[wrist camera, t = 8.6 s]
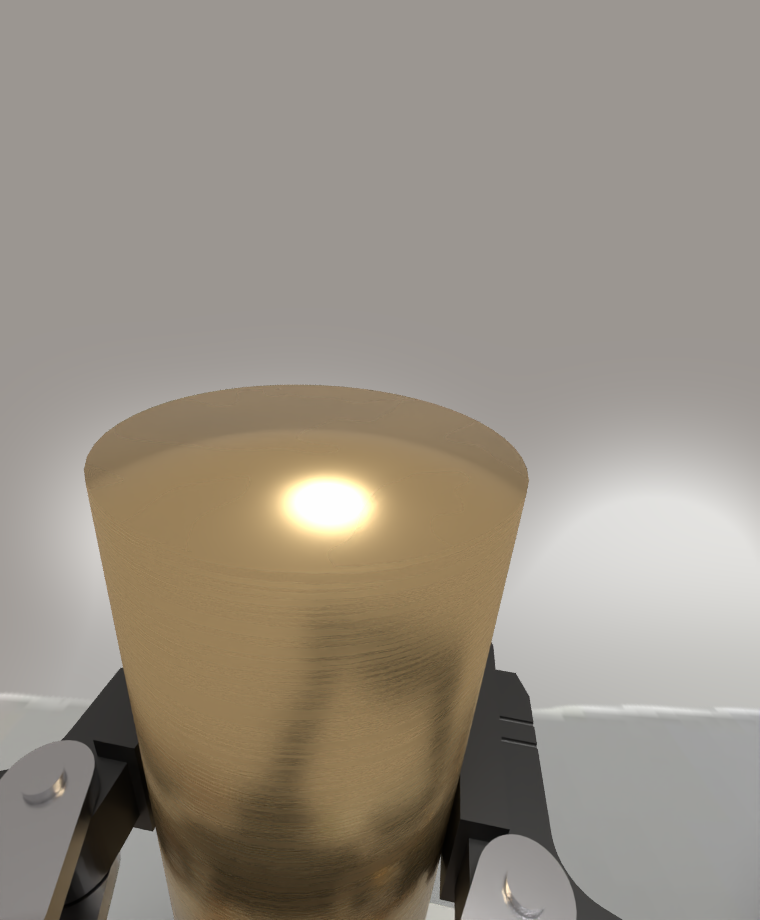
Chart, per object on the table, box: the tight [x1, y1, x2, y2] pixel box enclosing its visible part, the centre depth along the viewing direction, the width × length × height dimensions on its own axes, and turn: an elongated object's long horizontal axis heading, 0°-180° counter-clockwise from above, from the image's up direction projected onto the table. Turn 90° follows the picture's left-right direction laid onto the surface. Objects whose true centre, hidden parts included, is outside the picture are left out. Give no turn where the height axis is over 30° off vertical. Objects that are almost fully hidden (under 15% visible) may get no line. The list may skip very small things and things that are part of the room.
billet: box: [84, 385, 529, 920], centre depth 9 cm, size 5×5×14 cm
